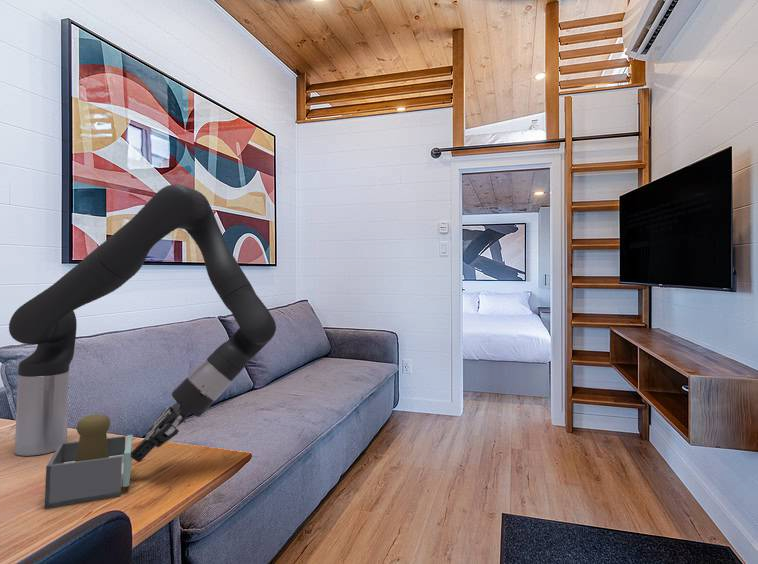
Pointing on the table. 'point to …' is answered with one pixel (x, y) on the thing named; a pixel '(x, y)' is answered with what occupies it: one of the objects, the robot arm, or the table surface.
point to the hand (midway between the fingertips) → (134, 458)
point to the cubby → (83, 475)
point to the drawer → (125, 462)
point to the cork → (92, 437)
